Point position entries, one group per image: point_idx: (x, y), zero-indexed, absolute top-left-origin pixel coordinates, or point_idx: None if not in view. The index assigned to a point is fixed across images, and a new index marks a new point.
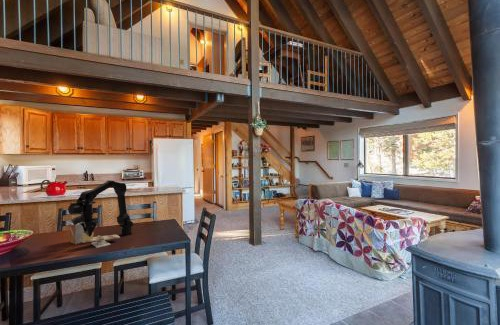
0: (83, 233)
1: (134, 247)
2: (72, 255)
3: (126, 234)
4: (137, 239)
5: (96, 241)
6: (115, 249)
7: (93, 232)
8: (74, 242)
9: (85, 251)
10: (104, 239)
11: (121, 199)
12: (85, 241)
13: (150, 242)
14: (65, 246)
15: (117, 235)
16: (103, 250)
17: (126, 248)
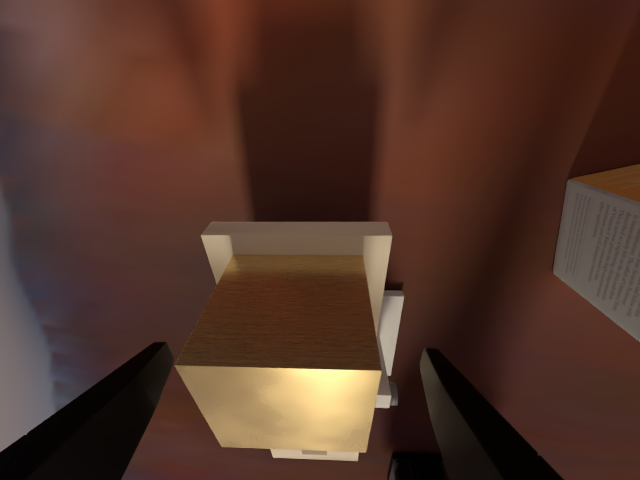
0: (294, 344)
1: None
2: (82, 43)
3: (397, 470)
4: (249, 462)
5: None
6: (98, 354)
7: (222, 443)
8: (610, 176)
9: (170, 195)
10: None
11: None
12: (216, 258)
13: (144, 470)
14: (609, 44)
15: (318, 457)
16: (115, 303)
17: None
